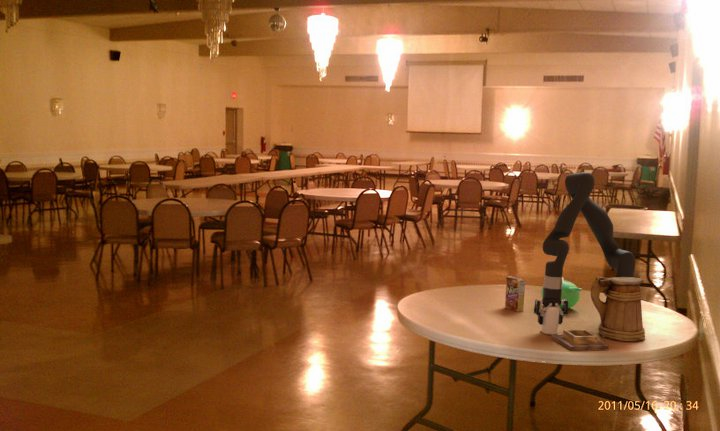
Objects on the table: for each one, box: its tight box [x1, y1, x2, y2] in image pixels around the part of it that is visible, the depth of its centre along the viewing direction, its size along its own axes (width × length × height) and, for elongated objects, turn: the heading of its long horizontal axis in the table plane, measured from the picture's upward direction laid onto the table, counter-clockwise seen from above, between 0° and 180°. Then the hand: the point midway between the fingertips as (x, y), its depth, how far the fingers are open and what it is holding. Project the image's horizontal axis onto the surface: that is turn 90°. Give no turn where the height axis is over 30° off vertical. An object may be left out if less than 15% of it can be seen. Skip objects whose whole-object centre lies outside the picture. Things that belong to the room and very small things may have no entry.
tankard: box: [590, 276, 646, 342], centre depth 292 cm, size 18×24×25 cm
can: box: [541, 306, 559, 336], centre depth 293 cm, size 6×6×12 cm
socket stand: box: [551, 328, 609, 351], centre depth 279 cm, size 16×16×4 cm
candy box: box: [504, 275, 526, 312], centre depth 331 cm, size 9×4×15 cm, turn 31°
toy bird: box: [540, 276, 583, 310], centre depth 337 cm, size 18×17×15 cm
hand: (549, 324), depth 293 cm, fingers open, 8 cm apart
